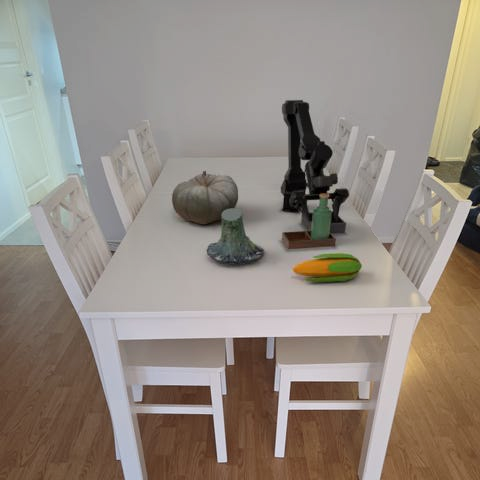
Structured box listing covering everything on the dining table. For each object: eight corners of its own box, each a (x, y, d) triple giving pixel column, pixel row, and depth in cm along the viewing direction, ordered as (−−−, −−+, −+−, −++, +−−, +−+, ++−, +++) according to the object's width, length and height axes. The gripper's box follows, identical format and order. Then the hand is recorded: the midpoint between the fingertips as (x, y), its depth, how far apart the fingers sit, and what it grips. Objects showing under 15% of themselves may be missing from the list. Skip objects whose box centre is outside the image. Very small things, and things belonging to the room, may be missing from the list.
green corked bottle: (308, 243, 149) (313, 196, 141) (312, 237, 154) (316, 190, 145) (326, 246, 148) (332, 198, 139) (329, 239, 152) (335, 192, 144)
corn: (368, 257, 124) (296, 261, 122) (364, 283, 128) (295, 287, 125) (358, 248, 130) (290, 251, 128) (355, 272, 134) (289, 276, 132)
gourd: (252, 205, 175) (245, 161, 164) (224, 237, 158) (214, 191, 147) (197, 202, 185) (187, 160, 174) (165, 232, 169) (152, 188, 158)
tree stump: (271, 247, 149) (273, 199, 136) (253, 286, 137) (253, 238, 123) (219, 237, 154) (216, 190, 140) (197, 274, 141) (191, 226, 128)
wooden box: (281, 240, 153) (282, 232, 151) (326, 238, 155) (327, 229, 153) (288, 250, 146) (288, 242, 144) (334, 247, 148) (336, 238, 147)
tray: (301, 223, 166) (302, 212, 164) (332, 221, 168) (334, 211, 166) (311, 236, 156) (312, 225, 154) (344, 234, 158) (346, 223, 156)
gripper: (294, 165, 139) (301, 211, 136) (351, 162, 142) (360, 208, 139) (285, 183, 150) (292, 227, 147) (339, 180, 153) (347, 223, 150)
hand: (323, 221), depth 146 cm, fingers open, 9 cm apart
